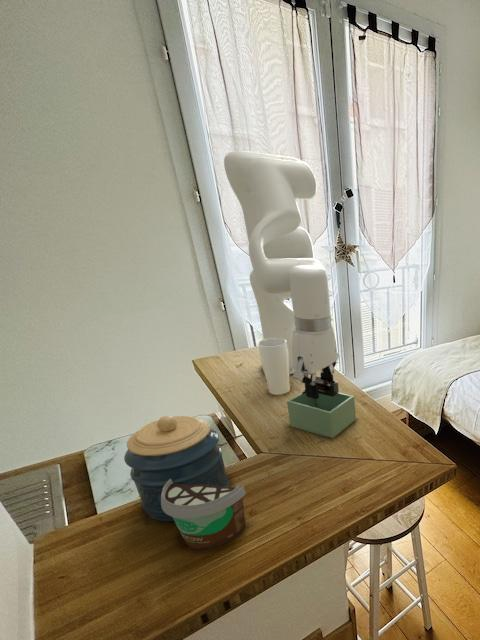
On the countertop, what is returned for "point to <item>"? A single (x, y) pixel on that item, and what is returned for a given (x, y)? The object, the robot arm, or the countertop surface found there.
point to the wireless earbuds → (326, 386)
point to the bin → (322, 413)
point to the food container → (205, 512)
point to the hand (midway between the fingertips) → (320, 391)
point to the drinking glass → (275, 364)
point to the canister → (173, 459)
